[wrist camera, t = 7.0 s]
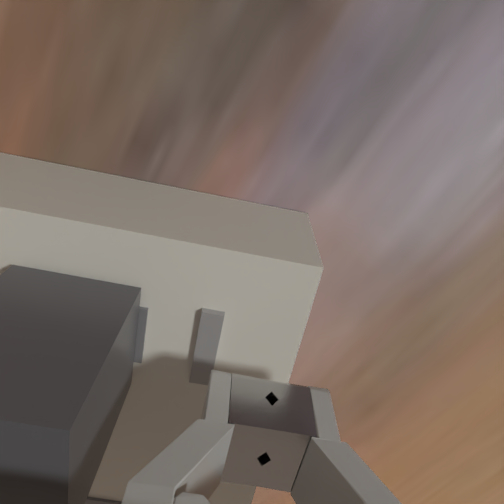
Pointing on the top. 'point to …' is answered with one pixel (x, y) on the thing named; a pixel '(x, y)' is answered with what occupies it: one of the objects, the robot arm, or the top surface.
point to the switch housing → (168, 291)
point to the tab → (60, 380)
